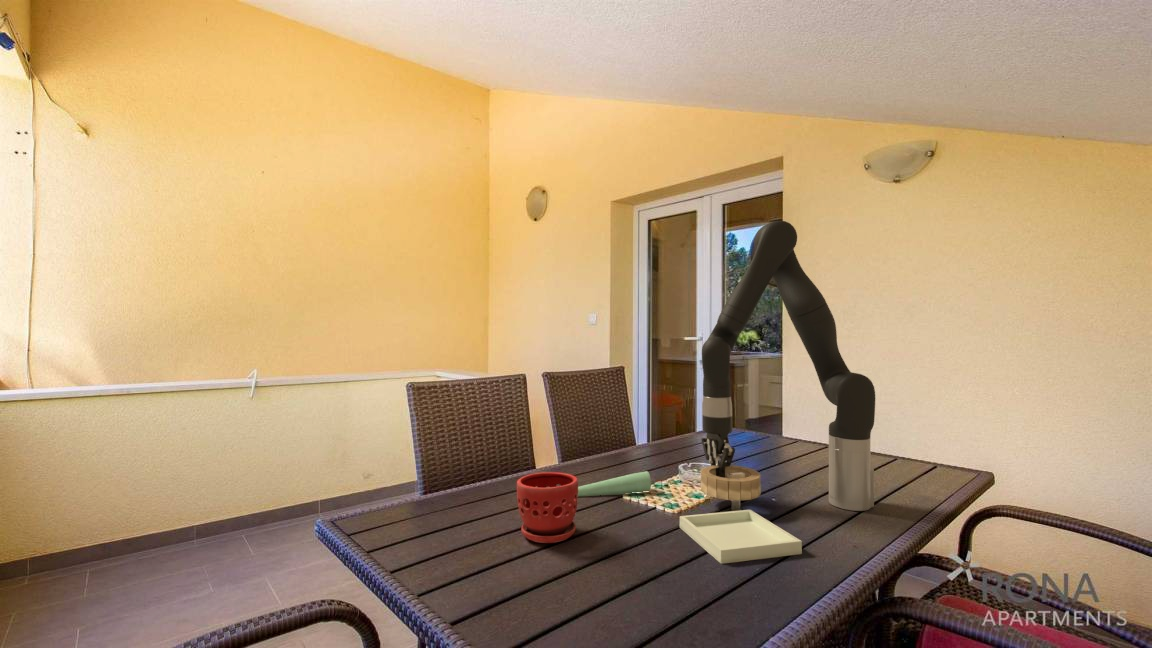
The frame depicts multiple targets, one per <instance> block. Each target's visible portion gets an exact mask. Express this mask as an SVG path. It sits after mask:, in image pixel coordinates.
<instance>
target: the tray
mask: <svg viewBox="0 0 1152 648" xmlns="http://www.w3.org/2000/svg"><path fill="white" fill-rule="evenodd" d="M679 529H681V530H682V531H683V532H684V533H685V534H687V536H688V537H690V538H691V539H692V540H693V541H694V542H696V544H698V545H699V546H700V547H701V548H702V549H704V550H705V551H706V552H707V553H708V555H710V556H712V557H713V558H714V559H715V560H716V561H717V562H719V564H729V563H731V564H732V563H739V562H745V561H754V560H764V559H771V558H780V557H787V556H789V557H790V556H795V555H802V554H803V551H802V550H803V549H802V548H803V545H802V544H803V543H802V542H803V541H802V540H801V539H799V538H797V537H796V536H794V535H793V534H791V533H789V532H788V531H786V530H784V529H783V528H781V527H780V526H778V525H776V524H774V523H772V522H771V521H770V520H768V519H767V518H764V517H763V516H761V515H760V514H758V513H756V512H755V511H754V510H752V509H743V510H742V509H740V511H732V510H731V511H720V512H711V513H700V514H692V515H690V514H689V515H681V516H679Z"/></svg>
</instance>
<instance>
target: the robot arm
mask: <svg viewBox="0 0 1152 648" xmlns="http://www.w3.org/2000/svg"><path fill="white" fill-rule="evenodd" d="M797 242H798V233H797V230H796V228H795V227H794V226H793V225H792V224H791V223H790V222H788V221H785V220H773V221H770V222H768V223H766V224H765V225H763V226H762V227H760V228H759V229H758V230H757V231H756V233H755V235H754V238H753V245H754V249H755V251H754V254H753V257H752V260H751V262H750V263H749V264H748V265H749V266H748V267H747V269H746V271H745V273H744V274H743V276H742V278H741V279H740V280H739V282H738V283H737V285H736V286H735V288H734V289H733V291H732V292H731V294H730V295H729V297H728V298H727V301H726V302H725V304H724V305H723V307H722V310H720V311H721V312H720V314H719V315H718V318H717V321H716V324H715V326H714V328H713V330H712V331H711V333H710V334H709V337H707V339H706V340H705V341H704V342H703V345H702V347H701V364H702V372H703V375H702V376H703V378H702V405H701V410H702V411H701V413H702V414H701V416H702V418H701V419H702V422H701V423H702V426H701V427H702V431H703V432H704V433H705V434H706V437H702V438H701V440H700V441H701V444H702V449H703V453H704V457H705V459H706V461H708V463H709V465H710V466H711V465H716V476H718V477H722V478H725V467H730V465H731V466H732V462H733V459H734V456H735V452H736V448H735V447H731V445H730V442H729V441H730V440H729V434H731V433H732V432H733V403H732V385H731V384H732V383H731V378H730V367H731V366H730V365H731V353H732V351H733V349H734V347H735V344H736V343H737V340H738V338H739V336H740V334H741V333H742V332H743V331H744V329H745V328H746V326H747V324H748V322H749V320H750V319H751V317H752V314H753V313H754V311H755V309H756V307H757V305H758V303H759V302H760V299H761V297H762V295H763V294H764V291H766V288H767V287H768V285H769V283H770V281H771V280H772V279H773V281H774V282H775V284H776V287H777V290H778V293H779V296H780V297H781V301H782V302H783V305H784V307H785V309H786V312H787V314H788V316H789V318H790V321H791V322H792V324H793V327H794V329H795V331H796V333H797V334H798V336H799V338H800V340H801V342H802V344H803V347H804V348H805V350H806V353H807V354H808V355H809V358H810V360H811V362H812V365H813V367H814V369H815V372H816V376H817V377H818V380H819V383H820V386H821V389H822V392H823V395H824V397H826V399H827V400H828V401H829V402H830V403H831V404H832V405H834V406H836V412H835V413H836V416H835V419H834V420H833V421H831V422H830V423H829V424H828V503H829V504H830V505H832V506H834V507H836V508H839V509H843V510H846V511H856V512H857V511H858V512H864V511H865V512H866V511H868V510H870V509H872V508H875V506H874V505H875V470H874V468H873V467H871V462H872V461H871V459H872V458H871V451H872V450H871V433H872V430H873V428H874V426H875V425H874V424H875V415H876V391H875V386H874V382H872V380H871V379H870V378H869V377H868V376H866V375H864V374H861V373H858V372H851V370H850V369H849V367H848V366H847V364H846V363H845V361H844V358H843V356H842V354H841V353H840V350H839V346H838V340H837V339H838V338H837V337H838V336H837V333H838V332H837V326H836V321H835V317H834V315H833V313H832V310H831V309H830V307H829V305H828V303H827V301H826V299H825V297H824V295H823V294H822V292H821V291H820V289H819V288H818V287H817V286H816V285H815V282H813V281H812V279H810V278H809V276H808V275H807V273H806V272H805V271H804V270H803V267H802V265H801V264H800V262H799V260H798V257H797V255H796V253H795V250H794V249H795V247H796V245H797Z"/></svg>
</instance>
